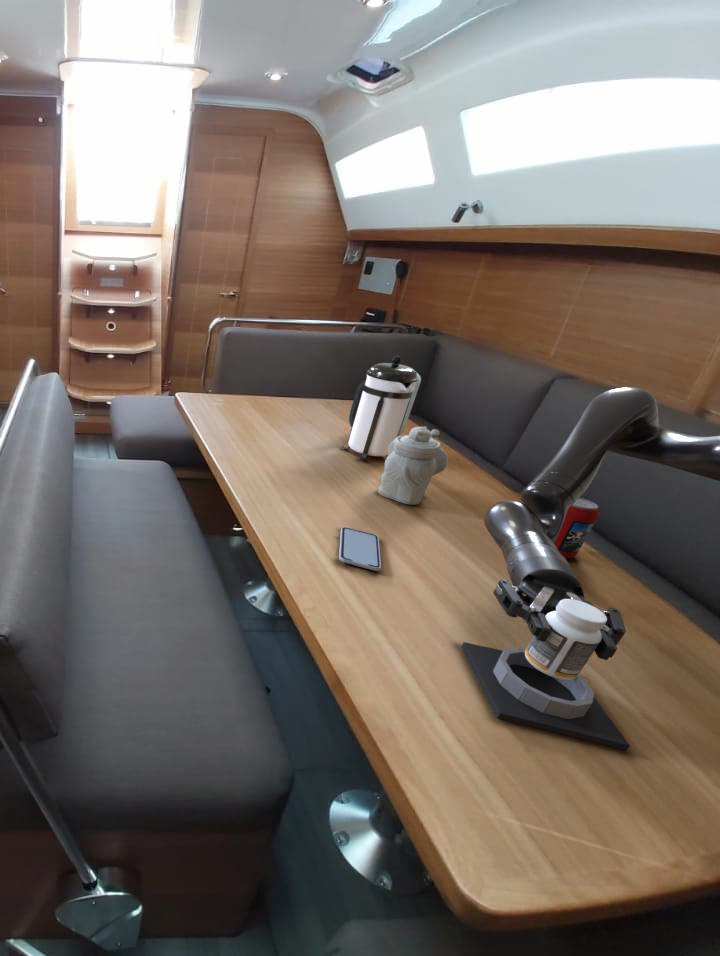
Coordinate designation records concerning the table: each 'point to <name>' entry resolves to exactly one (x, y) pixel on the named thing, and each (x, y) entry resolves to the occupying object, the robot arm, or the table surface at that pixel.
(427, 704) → the table surface
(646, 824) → the table surface
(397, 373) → the coffee press
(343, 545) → the smartphone
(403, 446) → the grey sculpted cookie jar
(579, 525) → the beverage can
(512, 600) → the robot arm
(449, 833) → the table surface
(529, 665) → the dock
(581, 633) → the pill bottle
